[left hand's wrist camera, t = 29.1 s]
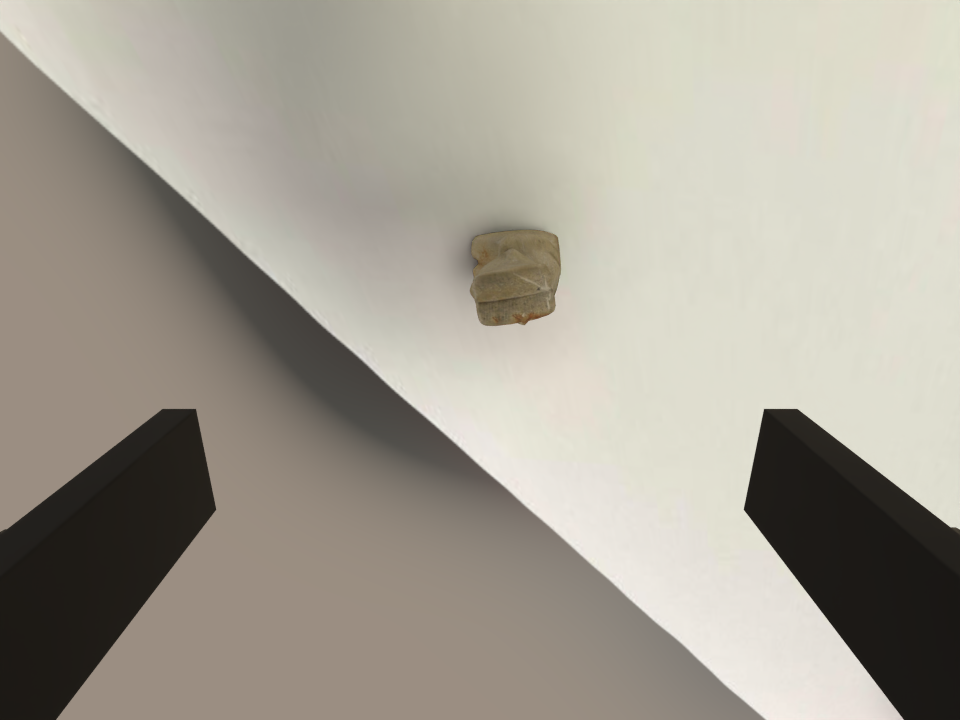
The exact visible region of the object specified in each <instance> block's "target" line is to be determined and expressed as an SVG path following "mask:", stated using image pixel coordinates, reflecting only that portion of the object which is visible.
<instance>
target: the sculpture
mask: <svg viewBox="0 0 960 720" xmlns="http://www.w3.org/2000/svg"><path fill="white" fill-rule="evenodd" d="M471 254H472V256H473V258H475V259H476V260H478V265H477V266H476V267H475V268H474V269H473V274H474V279H473V283H472V285H471V288H470V293H471V295H472V297H473V298H474V299H475V302H476V308H477V314H478V318H479V320H480V322H481V323H482V324H483V325H486V326H499V325H507V324H514V323H519V324H521V325H525V324H526V323H527V322H528V321H530V320H534V319H538V318H541V317H544V316H547V315H549V314H550V313H552V312H553V311H554V309H555V297H554V295H555V293H556V290H557V286H558V282H559V276H560V273H561V261H560V250H559V242H558V237H557V236H556V235H554V234H552V233H548V232H545V231H538V230H516V231H503V232H496V233H489V234H484V235H479V236H476V237H475V238H474V240H473V242H472V247H471Z"/></svg>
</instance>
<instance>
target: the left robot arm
mask: <svg viewBox="0 0 960 720" xmlns="http://www.w3.org/2000/svg"><path fill="white" fill-rule="evenodd" d="M215 510H216V506H215V501H214V497H213V492H212V487H211V482H210V477H209V472H208V467H207V462H206V457H205V452H204V447H203V442H202V437H201V432H200V427H199V422H198V417H197V412H196V409H162V410H161V411H160V412H158V413H157V414H156V415H154V416H153V417H152V418H150V419H149V420H148V421H147V422H145V423H144V424H143V425H141V426H140V427H139V428H138V429H136V430H135V431H134V432H132V433H131V434H130V435H129V436H127V437H126V438H125V439H123V440H122V441H121V442H119V443H118V444H117V445H116V446H114V447H113V448H112V449H110V450H109V451H108V452H107V453H105V454H104V455H103V456H101V457H100V458H99V459H98V460H96V461H95V462H94V463H92V464H91V465H90V466H88V467H87V468H86V469H85V470H83V471H82V472H81V473H79V474H78V475H77V476H75V477H74V478H73V479H72V480H70V481H69V482H68V483H66V484H65V485H64V486H63V487H61V488H60V489H59V490H57V491H56V492H55V493H53V494H52V495H51V496H50V497H48V498H47V499H46V500H44V501H43V502H42V503H41V504H39V505H38V506H37V507H35V508H34V509H33V510H32V511H30V512H29V513H28V514H26V515H25V516H24V517H22V518H21V519H20V520H19V521H17V522H16V523H15V524H13V525H12V526H11V527H10V528H8V529H5V530H3V531H1V532H0V720H56V719H57V718H58V716H59V715H60V714H61V712H62V711H63V710H64V708H65V707H66V706H67V705H68V703H69V702H70V701H71V699H72V698H73V697H74V695H75V694H76V693H77V691H78V690H79V689H80V687H81V686H82V685H83V684H84V682H85V681H86V680H87V678H88V677H89V676H90V674H91V673H92V672H93V670H94V669H95V668H96V666H97V665H98V664H99V663H100V661H101V660H102V659H103V657H104V656H105V655H106V653H107V652H108V651H109V649H110V648H111V647H112V646H113V644H114V643H115V642H116V640H117V639H118V638H119V636H120V635H121V634H122V632H123V631H124V630H125V628H126V627H127V626H128V624H129V623H130V622H131V621H132V619H133V618H134V617H135V615H136V614H137V613H138V611H139V610H140V609H141V607H142V606H143V605H144V604H145V602H146V601H147V600H148V598H149V597H150V596H151V594H152V593H153V592H154V590H155V589H156V588H157V586H158V585H159V584H160V583H161V581H162V580H163V579H164V577H165V576H166V575H167V573H168V572H169V571H170V569H171V568H172V567H173V566H174V564H175V563H176V562H177V560H178V559H179V558H180V556H181V555H182V554H183V552H184V551H185V550H186V548H187V547H188V546H189V545H190V543H191V542H192V540H193V539H194V538H195V537H196V535H197V534H198V533H199V531H200V530H201V529H202V527H203V526H204V525H205V524H206V522H207V521H208V520H209V518H210V517H211V516H212V514H213V513H214V512H215ZM744 510H745V512H746V513H747V514H748V516H749V517H750V518H751V520H752V521H753V522H754V524H755V525H756V526H757V528H758V529H759V530H760V531H761V533H762V534H763V535H764V537H765V538H766V539H767V541H768V542H769V543H770V545H771V546H772V547H773V548H774V550H775V551H776V552H777V554H778V555H779V556H780V558H781V559H782V560H783V562H784V563H785V564H786V566H787V567H788V568H789V569H790V571H791V572H792V573H793V575H794V576H795V577H796V579H797V580H798V581H799V583H800V584H801V585H802V587H803V588H804V589H805V590H806V592H807V593H808V594H809V596H810V597H811V598H812V600H813V601H814V602H815V604H816V605H817V606H818V607H819V609H820V610H821V611H822V613H823V614H824V615H825V617H826V618H827V619H828V621H829V622H830V623H831V625H832V626H833V627H834V628H835V630H836V631H837V632H838V634H839V635H840V636H841V638H842V639H843V640H844V642H845V643H846V644H847V646H848V647H849V648H850V649H851V651H852V652H853V653H854V655H855V656H856V657H857V659H858V660H859V661H860V663H861V664H862V665H863V666H864V668H865V669H866V670H867V672H868V673H869V674H870V676H871V677H872V678H873V680H874V681H875V682H876V684H877V685H878V686H879V687H880V689H881V690H882V691H883V693H884V694H885V695H886V697H887V698H888V699H889V701H890V702H891V703H892V705H893V706H894V707H895V708H896V710H897V711H898V712H899V714H900V715H901V716H902V718H903V719H904V720H960V529H958V528H950V527H949V526H948V525H947V524H945V523H944V522H943V521H941V520H940V519H939V518H938V517H936V516H935V515H934V514H932V513H931V512H930V511H928V510H927V509H926V508H925V507H923V506H922V505H921V504H919V503H918V502H917V501H916V500H914V499H913V498H912V497H910V496H909V495H908V494H907V493H905V492H904V491H903V490H901V489H900V488H899V487H897V486H896V485H895V484H894V483H892V482H891V481H890V480H888V479H887V478H886V477H885V476H883V475H882V474H881V473H879V472H878V471H877V470H875V469H874V468H873V467H872V466H870V465H869V464H868V463H866V462H865V461H864V460H863V459H861V458H860V457H859V456H857V455H856V454H855V453H853V452H852V451H851V450H850V449H848V448H847V447H846V446H844V445H843V444H842V443H841V442H839V441H838V440H837V439H835V438H834V437H833V436H832V435H830V434H829V433H828V432H826V431H825V430H824V429H822V428H821V427H820V426H819V425H817V424H816V423H815V422H813V421H812V420H811V419H810V418H808V417H807V416H806V415H804V414H803V413H802V412H800V411H799V410H798V409H764V412H763V417H762V422H761V427H760V432H759V437H758V442H757V447H756V452H755V457H754V462H753V467H752V472H751V477H750V482H749V487H748V492H747V497H746V501H745V506H744Z"/></svg>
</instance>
